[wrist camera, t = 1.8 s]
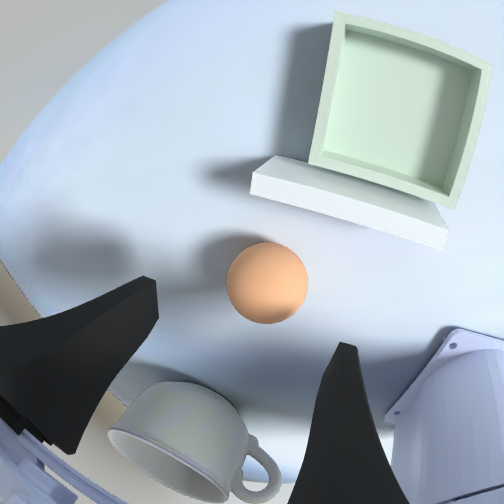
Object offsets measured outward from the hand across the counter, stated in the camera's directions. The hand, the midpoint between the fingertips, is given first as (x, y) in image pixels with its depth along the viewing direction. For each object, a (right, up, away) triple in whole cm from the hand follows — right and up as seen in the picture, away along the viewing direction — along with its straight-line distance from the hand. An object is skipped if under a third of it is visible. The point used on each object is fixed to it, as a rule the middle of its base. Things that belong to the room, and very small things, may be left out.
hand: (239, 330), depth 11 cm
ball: (+1, +2, +3) cm, 3 cm away
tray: (+6, +8, -1) cm, 10 cm away
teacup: (-2, -11, +14) cm, 17 cm away
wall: (+5, +6, +1) cm, 7 cm away
